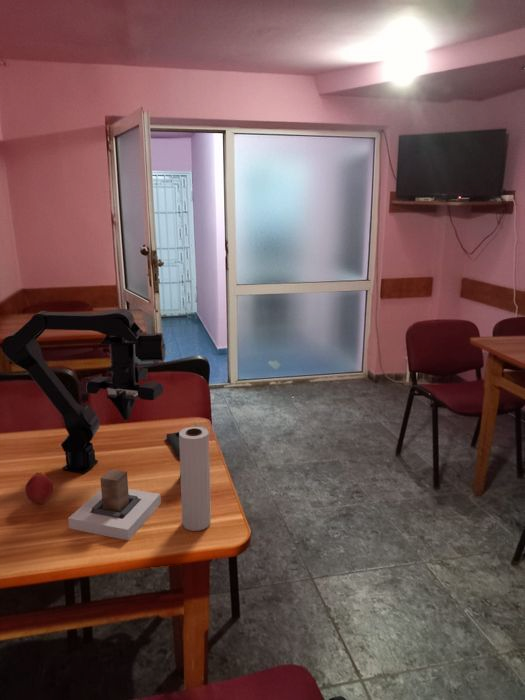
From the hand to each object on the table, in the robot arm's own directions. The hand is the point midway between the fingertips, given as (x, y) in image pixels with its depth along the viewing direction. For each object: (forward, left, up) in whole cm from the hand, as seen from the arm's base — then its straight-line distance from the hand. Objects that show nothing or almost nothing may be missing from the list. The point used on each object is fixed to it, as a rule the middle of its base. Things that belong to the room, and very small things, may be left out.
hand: (126, 419), depth 132 cm
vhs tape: (+9, +15, -14) cm, 22 cm away
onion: (-10, -22, -13) cm, 27 cm away
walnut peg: (+9, -21, -13) cm, 26 cm away
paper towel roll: (+27, -18, -13) cm, 35 cm away
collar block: (+9, -21, -13) cm, 26 cm away
